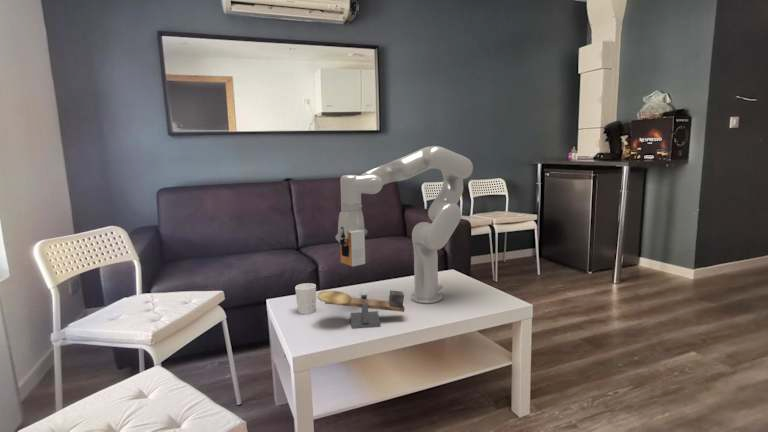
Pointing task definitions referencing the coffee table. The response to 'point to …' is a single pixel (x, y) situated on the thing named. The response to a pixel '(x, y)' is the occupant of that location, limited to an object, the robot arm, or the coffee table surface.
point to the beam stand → (365, 317)
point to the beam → (363, 300)
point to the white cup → (306, 298)
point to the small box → (355, 249)
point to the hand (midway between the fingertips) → (352, 253)
